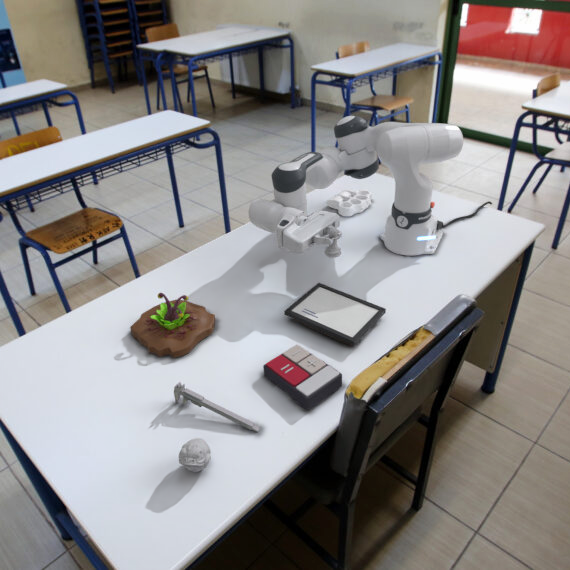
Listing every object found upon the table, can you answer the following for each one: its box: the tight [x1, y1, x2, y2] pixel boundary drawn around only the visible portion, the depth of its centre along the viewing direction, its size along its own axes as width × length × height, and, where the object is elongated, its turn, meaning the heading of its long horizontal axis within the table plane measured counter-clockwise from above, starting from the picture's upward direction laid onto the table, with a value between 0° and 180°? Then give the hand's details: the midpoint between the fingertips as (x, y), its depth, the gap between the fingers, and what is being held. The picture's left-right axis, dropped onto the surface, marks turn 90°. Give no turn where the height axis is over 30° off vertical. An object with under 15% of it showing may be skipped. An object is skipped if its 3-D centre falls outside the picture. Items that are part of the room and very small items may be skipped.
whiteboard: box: [283, 282, 387, 347], centre depth 132 cm, size 16×21×3 cm
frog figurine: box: [178, 437, 212, 473], centre depth 95 cm, size 6×7×7 cm
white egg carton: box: [326, 189, 373, 217], centre depth 189 cm, size 3×18×15 cm
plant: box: [129, 292, 216, 358], centre depth 128 cm, size 20×20×11 cm
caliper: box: [173, 381, 261, 433], centre depth 106 cm, size 20×1×6 cm, turn 65°
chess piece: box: [323, 228, 342, 259], centre depth 137 cm, size 5×5×8 cm
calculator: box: [262, 344, 343, 411], centre depth 114 cm, size 11×4×15 cm
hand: (336, 238), depth 136 cm, fingers closed on chess piece, 3 cm apart
